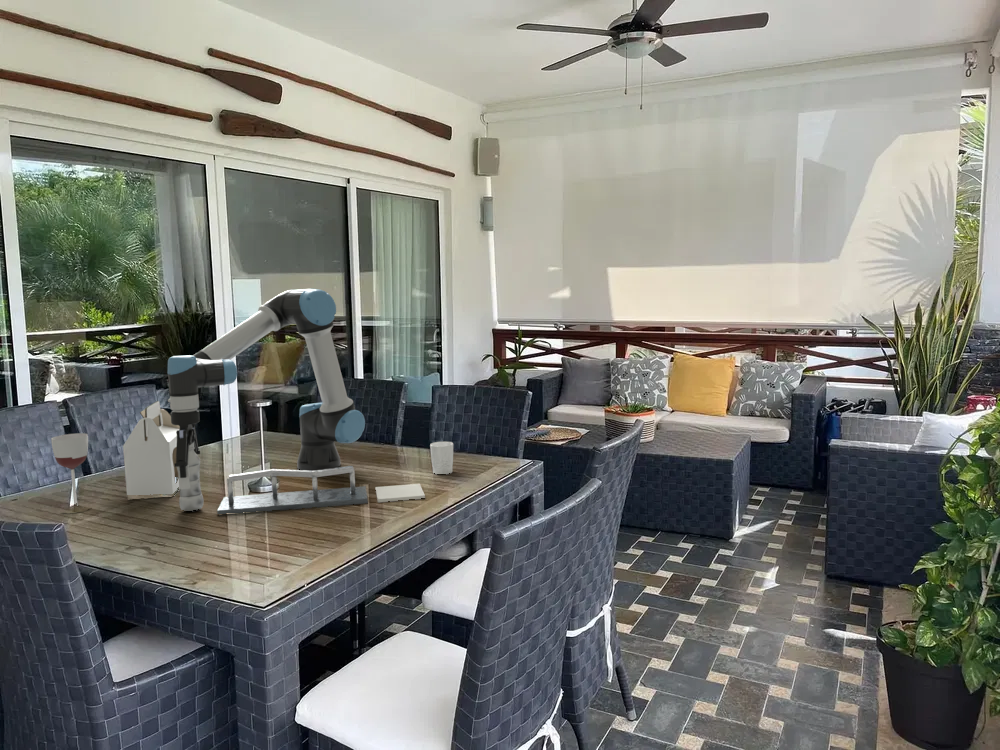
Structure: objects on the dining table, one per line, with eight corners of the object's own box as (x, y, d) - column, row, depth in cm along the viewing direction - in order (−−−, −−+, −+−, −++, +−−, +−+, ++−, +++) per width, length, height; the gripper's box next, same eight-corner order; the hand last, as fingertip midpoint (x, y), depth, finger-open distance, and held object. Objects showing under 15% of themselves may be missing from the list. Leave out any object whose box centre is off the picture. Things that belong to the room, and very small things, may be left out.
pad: (375, 490, 232) (375, 487, 232) (419, 486, 235) (419, 483, 235) (377, 502, 218) (377, 499, 218) (425, 498, 221) (424, 495, 221)
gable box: (145, 482, 247) (139, 400, 244) (187, 479, 250) (181, 398, 246) (127, 501, 225) (119, 410, 222) (173, 497, 228) (166, 408, 225)
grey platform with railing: (224, 501, 222) (222, 469, 221) (365, 490, 231) (364, 459, 230) (217, 515, 208) (215, 481, 207) (367, 503, 217) (366, 470, 216)
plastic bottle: (209, 508, 215) (204, 441, 213) (190, 515, 209) (185, 446, 207) (193, 506, 218) (188, 440, 216) (174, 513, 212) (169, 444, 209)
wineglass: (101, 506, 220) (94, 434, 217) (73, 515, 211) (66, 440, 208) (79, 504, 223) (72, 432, 220) (50, 513, 214) (43, 439, 211)
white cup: (455, 469, 256) (454, 441, 255) (452, 475, 248) (451, 446, 247) (433, 469, 257) (432, 441, 255) (429, 475, 249) (428, 446, 248)
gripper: (179, 404, 221) (184, 473, 224) (160, 417, 197) (165, 494, 199) (206, 403, 223) (210, 471, 225) (190, 416, 199) (195, 492, 201)
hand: (189, 482), depth 212 cm, fingers open, 13 cm apart
